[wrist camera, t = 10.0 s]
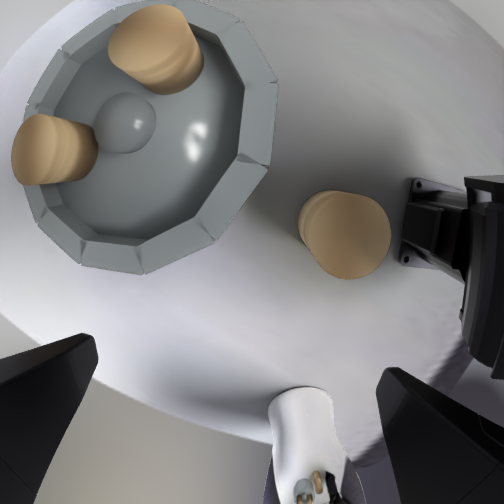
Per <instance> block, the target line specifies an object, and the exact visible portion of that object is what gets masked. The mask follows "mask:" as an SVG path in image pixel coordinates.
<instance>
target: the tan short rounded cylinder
mask: <svg viewBox="0 0 504 504" xmlns="http://www.w3.org/2000/svg"><path fill="white" fill-rule="evenodd" d="M97 155H98V142H97V140H96V138H95V133H94V130H93V129H92V127H90V126H89V125H87V124H84V123H80V122H75V121H71V120H67V119H62V118H58V117H53V116H49V115H44V114H35V115H32V116H31V117H29V118H28V119H27V120H26V121H25V122H24V123H23V124H22V125H21V127H20V128H19V130H18V132H17V134H16V136H15V139H14V143H13V147H12V154H11V162H12V169H13V172H14V175H15V177H16V179H17V180H18V181H19V182H20V183H21V184H23V185H26V186H30V185H39V184H49V183H60V182H73V181H79V180H81V179H83V178H84V177H85V176H87V175H88V174H89V172H90V171H91V170H92V168H93V166H94V164H95V162H96V159H97Z"/></svg>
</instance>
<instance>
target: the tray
mask: <svg viewBox="0 0 504 504" xmlns="http://www.w3.org/2000/svg"><path fill="white" fill-rule="evenodd" d="M157 4H165V5H170V6H173V7H175V8H177V9H179V10H180V11H181V12H182V14H183V15H184V17H185V19H186V21H187V23H188V25H189V27H190V29H191V31H192V33H193V35H194V37H195V39H196V41H197V43H198V45H199V47H200V49H201V51H202V53H203V56H204V67H203V70H202V72H201V74H200V76H199V77H198V79H197V80H196V81H195V82H194V83H193V84H192V85H191V86H189V87H188V88H187V89H185V90H183V91H181V92H178V93H175V94H170V95H161V94H157V93H154V92H152V91H151V90H149V89H148V88H146V87H145V86H144V85H142V84H141V83H140V82H138V81H137V80H135V79H134V78H133V77H131V76H130V75H128V74H127V73H126V72H124V71H123V70H121V69H120V68H118V67H117V66H116V65H114V64H113V63H112V61H111V60H110V58H109V54H108V45H109V41H110V38H111V36H112V34H113V32H114V30H115V29H116V28H117V26H118V25H119V24H120V23H121V22H122V21H123V20H124V19H125V18H126V17H128V16H129V15H130V14H132V13H134V12H135V11H137V10H139V9H142V8H144V7H147V6H151V5H157ZM61 47H62V50H60V49H59V50H58V51H57V53H56V54H55V56H54V57H53V59H52V60H51V62H50V63H49V65H48V67H47V68H46V70H45V72H44V73H43V75H42V77H41V78H40V80H39V82H38V84H37V85H36V87H35V89H34V91H33V93H32V95H31V97H30V98H29V100H28V102H27V103H28V104H30V105H28V106H26V110H25V115H24V121H23V123H24V122H25V121H26V120H27V119H28V118H29V117H31V116H32V115H35V114H44V115H49V116H53V117H58V118H62V119H67V120H71V121H75V122H80V123H84V124H87V125H89V126H90V127H92V129H93V130H94V133H95V138H96V140H97V142H98V155H97V159H96V162H95V164H94V166H93V168H92V170H91V171H90V172H89V174H88V175H87V176H85V177H84V178H83V179H81V180H79V181H73V182H60V183H49V184H39V185H30V186H26V185H23V186H24V189H25V192H26V196H27V199H28V202H29V205H30V208H31V211H32V214H33V216H34V219H35V222H36V223H38V222H39V223H38V227H39V228H40V229H41V230H42V231H43V232H44V233H45V234H46V235H47V236H48V237H50V238H51V239H52V240H53V241H54V242H55V243H56V244H57V245H58V246H59V247H60V248H61V249H62V250H63V251H64V252H66V253H67V254H68V255H69V256H70V257H71V258H72V259H73V260H74V261H76V262H77V263H78V264H80V263H81V264H82V266H87V267H93V268H99V269H105V270H111V271H117V272H124V273H130V274H137V275H143V274H144V273H145V274H148V273H150V272H153V271H155V270H157V269H159V268H161V267H163V266H165V265H168V264H170V263H172V262H174V261H176V260H178V259H181V258H183V257H185V256H187V255H189V254H192V253H194V252H196V251H198V250H200V249H203V248H205V247H207V246H209V245H211V244H214V242H215V241H216V240H218V239H219V237H220V236H221V235H222V233H223V232H224V230H225V229H226V228H227V226H228V225H229V223H230V222H231V221H232V219H233V218H234V216H235V215H236V214H237V212H238V211H239V209H240V208H241V207H242V205H243V204H244V202H245V201H246V200H247V198H248V197H249V196H250V194H251V193H252V191H253V190H254V189H255V187H256V186H257V185H258V183H259V182H260V181H261V179H262V178H263V177H264V175H265V174H266V172H267V171H268V169H266V168H269V166H270V162H271V153H272V143H273V134H274V124H275V114H276V104H277V94H278V84H277V80H278V79H277V78H276V76H275V74H274V72H273V70H272V69H271V67H270V65H269V63H268V62H267V60H266V58H265V56H264V55H263V53H262V51H261V50H260V48H259V46H258V45H257V43H256V41H255V40H254V38H253V36H252V35H251V33H250V32H249V30H248V28H247V27H246V25H245V24H244V22H243V21H242V22H240V19H239V18H237V17H235V16H233V15H231V14H228V13H226V12H223V11H221V10H219V9H216V8H214V7H211V6H208V5H206V4H203V3H200V2H198V1H195V0H147V1H141V2H136V3H132V4H127V5H123V6H119V7H116V8H115V11H114V10H113V9H111V10H110V11H108V12H107V13H105V14H104V15H102V16H101V17H99V18H98V19H96V20H95V21H93V22H92V23H91V24H89V25H88V26H86V27H85V28H84V29H82V30H81V31H80V32H78V33H77V34H76V35H75V36H73V37H72V38H71V39H70V40H68V41H67V42H66V43H65V44H64V45H62V46H61ZM265 167H266V168H265Z"/></svg>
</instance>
